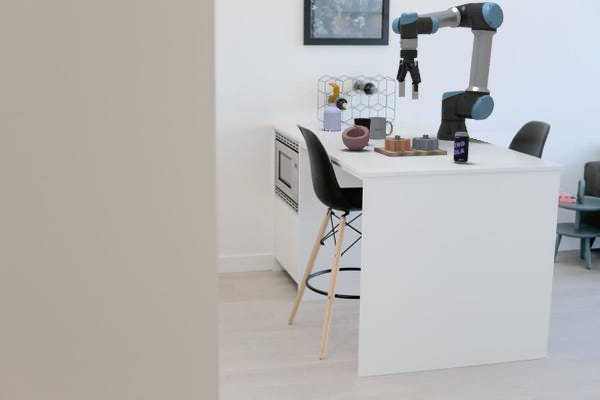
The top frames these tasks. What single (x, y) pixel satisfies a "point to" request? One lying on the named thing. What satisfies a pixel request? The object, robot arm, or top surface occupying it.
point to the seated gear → (425, 143)
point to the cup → (363, 123)
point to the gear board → (409, 153)
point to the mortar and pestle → (356, 137)
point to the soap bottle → (333, 112)
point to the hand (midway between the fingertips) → (408, 98)
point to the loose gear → (397, 144)
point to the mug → (379, 128)
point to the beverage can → (461, 147)
